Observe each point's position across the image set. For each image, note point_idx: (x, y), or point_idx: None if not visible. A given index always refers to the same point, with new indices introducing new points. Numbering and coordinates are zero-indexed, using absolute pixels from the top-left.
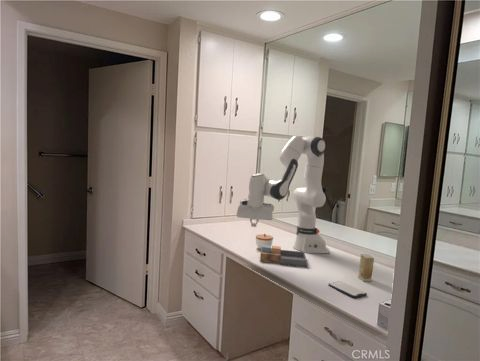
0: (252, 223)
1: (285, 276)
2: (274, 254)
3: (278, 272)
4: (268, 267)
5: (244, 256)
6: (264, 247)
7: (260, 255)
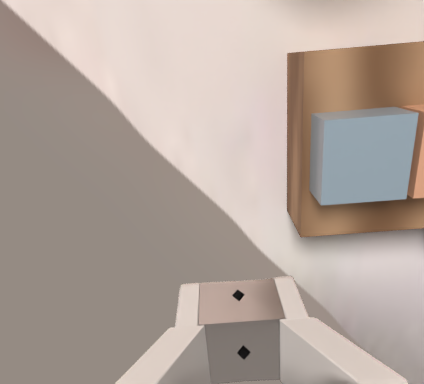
0: (209, 372)
1: (417, 372)
2: (410, 227)
3: (389, 339)
4: (339, 293)
5: (167, 150)
6: (342, 202)
7: (296, 228)
